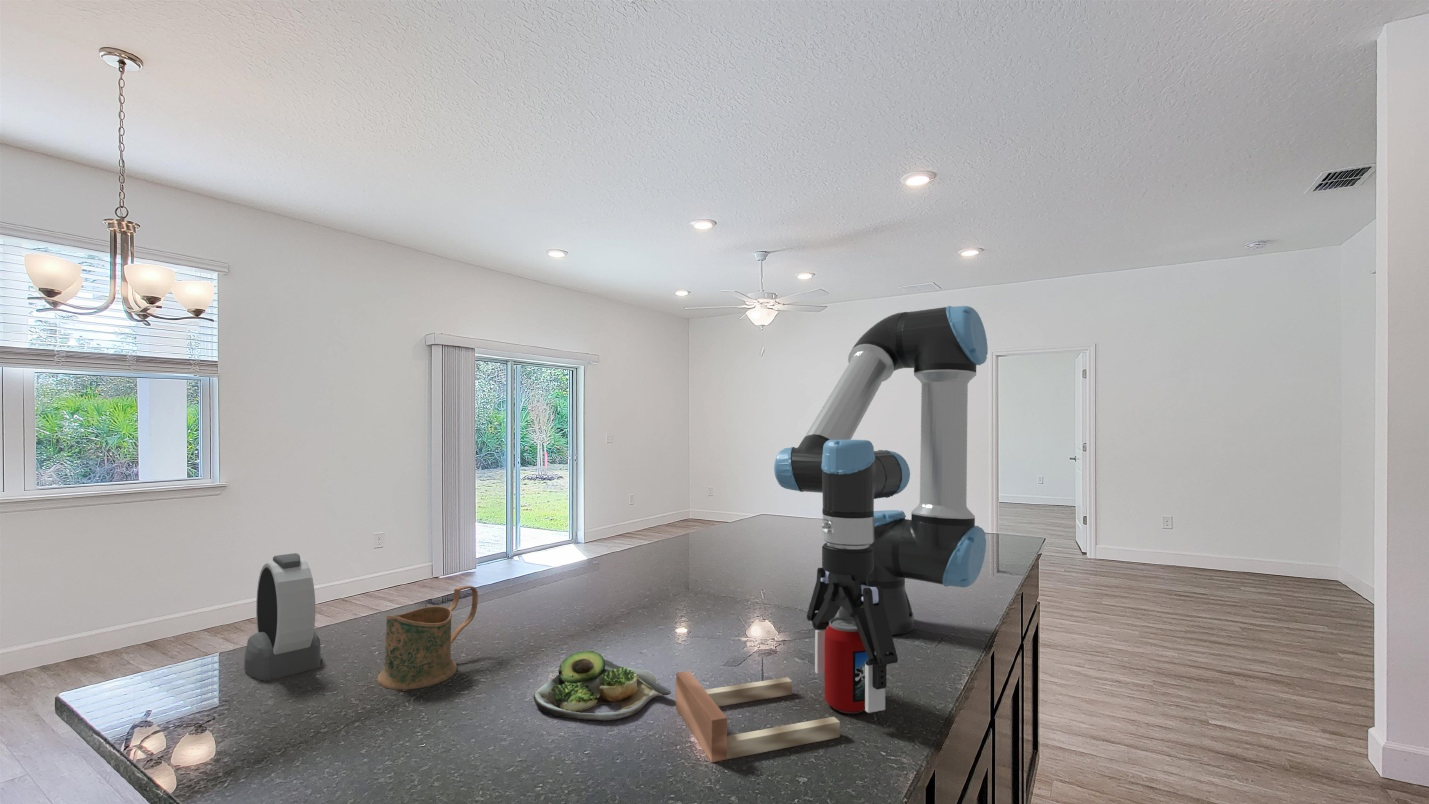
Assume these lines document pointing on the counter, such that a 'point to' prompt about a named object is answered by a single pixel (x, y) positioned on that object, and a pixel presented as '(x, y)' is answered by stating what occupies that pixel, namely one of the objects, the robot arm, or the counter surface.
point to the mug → (422, 645)
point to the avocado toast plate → (596, 688)
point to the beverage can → (844, 666)
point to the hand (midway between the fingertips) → (847, 689)
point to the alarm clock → (283, 621)
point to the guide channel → (713, 739)
